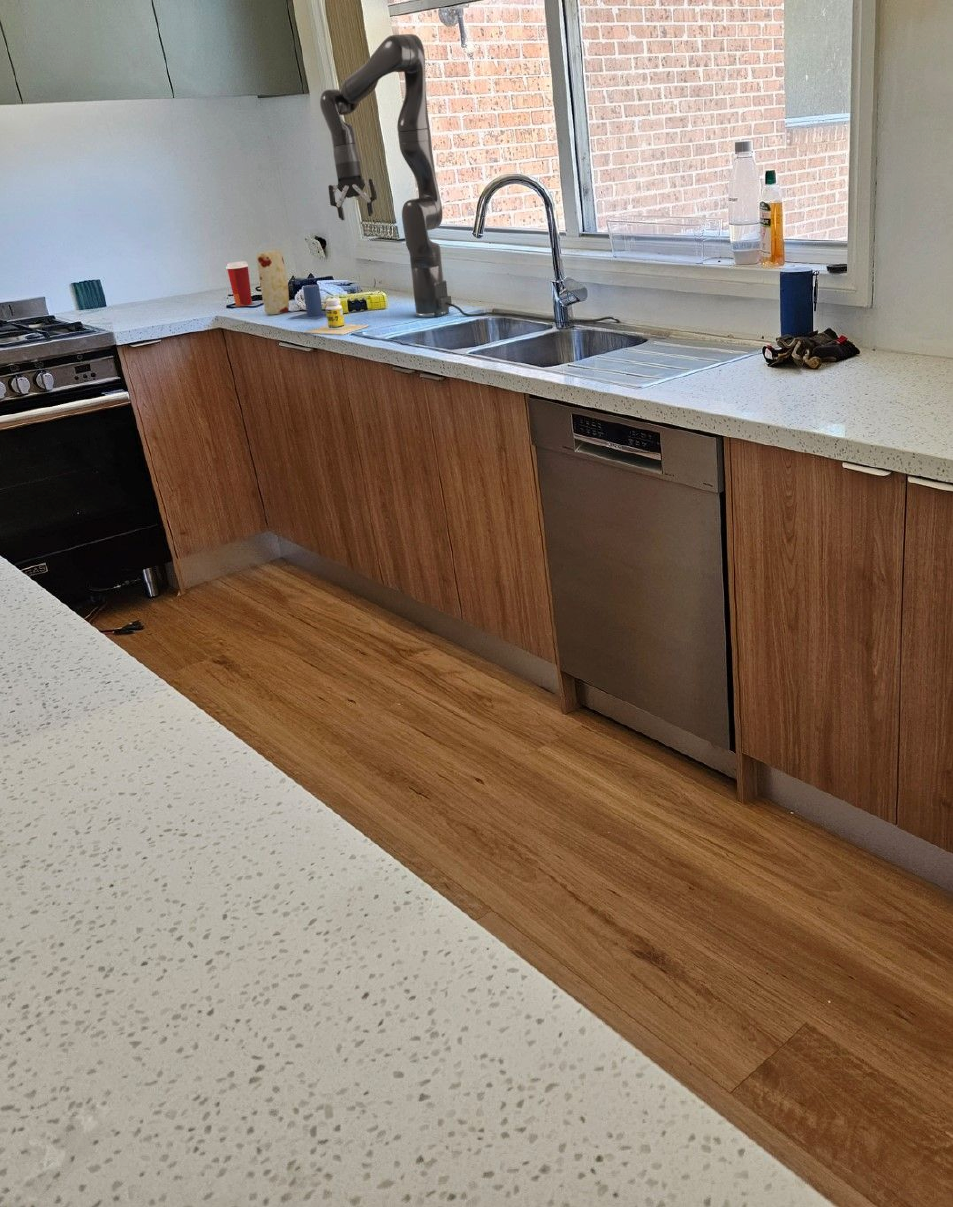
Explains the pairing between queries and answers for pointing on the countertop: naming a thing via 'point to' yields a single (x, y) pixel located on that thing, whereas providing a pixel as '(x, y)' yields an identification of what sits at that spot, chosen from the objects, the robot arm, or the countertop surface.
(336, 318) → the supplement bottle
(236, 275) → the paper cup
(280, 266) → the food model
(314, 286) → the blue rectangular block
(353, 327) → the cream mat
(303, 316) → the blue mat
